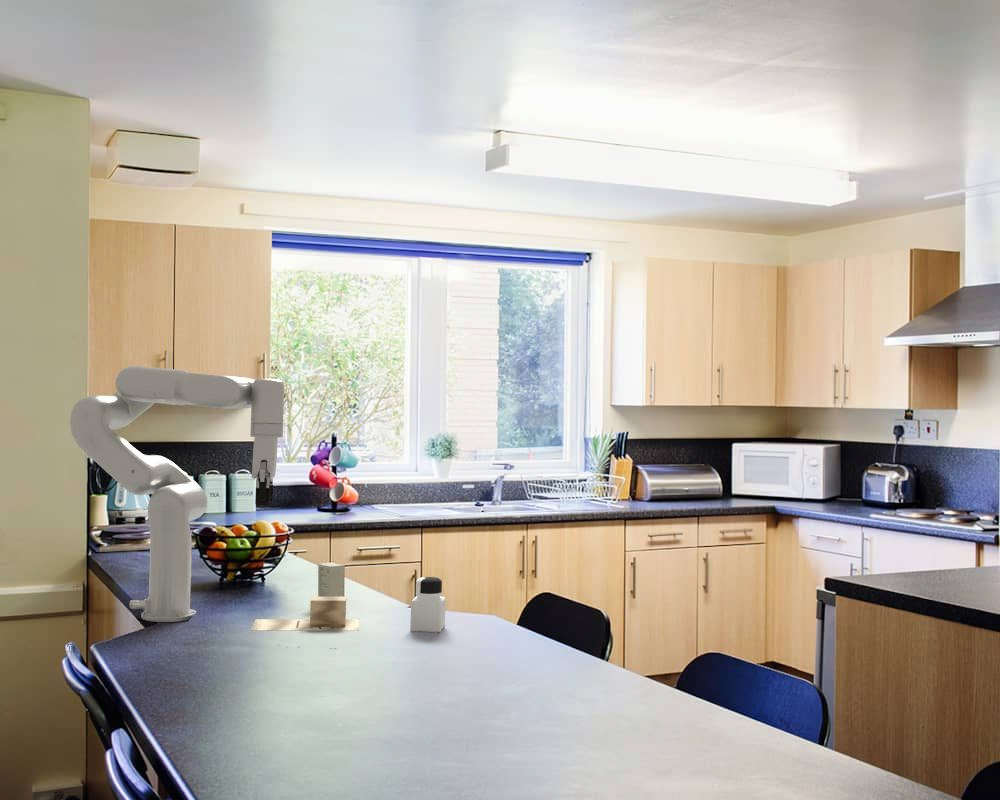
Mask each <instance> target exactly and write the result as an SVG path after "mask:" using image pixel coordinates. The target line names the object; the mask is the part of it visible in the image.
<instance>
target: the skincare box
mask: <svg viewBox="0 0 1000 800" xmlns="http://www.w3.org/2000/svg"><path fill="white" fill-rule="evenodd" d="M317 569H318V570H317V577H318V579H317V597H345V577H346V576H345V564H341V563H337V562H324V563H318V564H317Z"/></svg>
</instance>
